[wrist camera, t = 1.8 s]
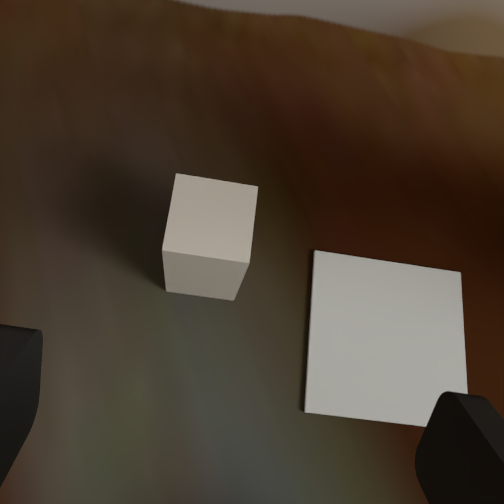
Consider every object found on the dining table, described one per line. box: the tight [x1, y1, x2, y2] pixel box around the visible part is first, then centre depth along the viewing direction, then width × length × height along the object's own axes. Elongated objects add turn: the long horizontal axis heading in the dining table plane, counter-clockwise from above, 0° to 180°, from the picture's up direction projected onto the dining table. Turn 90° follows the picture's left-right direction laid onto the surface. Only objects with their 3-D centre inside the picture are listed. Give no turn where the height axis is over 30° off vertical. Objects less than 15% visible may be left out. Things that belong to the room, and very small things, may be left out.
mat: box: [304, 250, 467, 427], centre depth 41 cm, size 14×14×1 cm
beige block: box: [162, 173, 258, 301], centre depth 37 cm, size 6×6×10 cm
